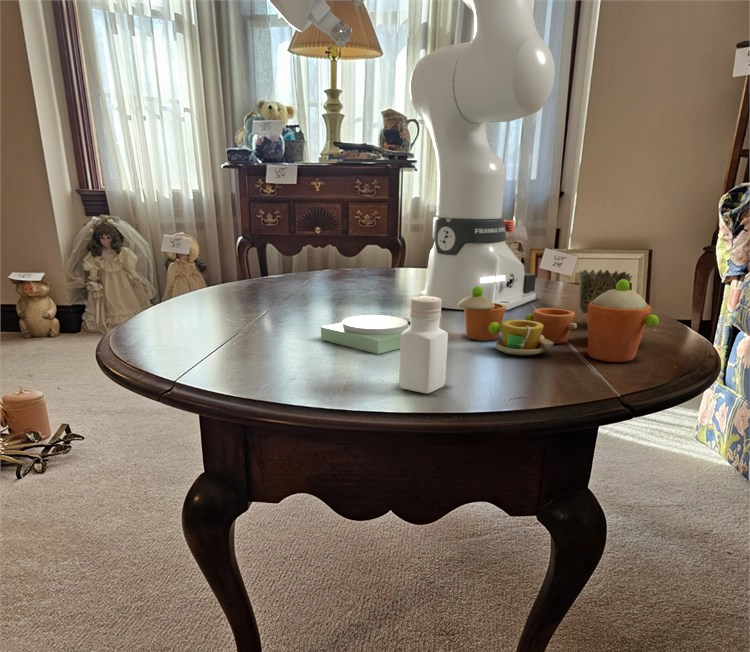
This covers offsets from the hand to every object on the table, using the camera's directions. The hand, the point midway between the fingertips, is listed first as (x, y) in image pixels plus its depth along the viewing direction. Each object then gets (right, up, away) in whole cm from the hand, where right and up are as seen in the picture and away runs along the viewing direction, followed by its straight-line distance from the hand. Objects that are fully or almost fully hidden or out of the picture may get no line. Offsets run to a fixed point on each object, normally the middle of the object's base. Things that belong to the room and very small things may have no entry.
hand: (355, 21), depth 70 cm
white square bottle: (+7, -39, +2) cm, 40 cm away
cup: (+36, -25, +31) cm, 54 cm away
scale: (+3, -29, +22) cm, 36 cm away
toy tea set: (+26, -31, +19) cm, 45 cm away
